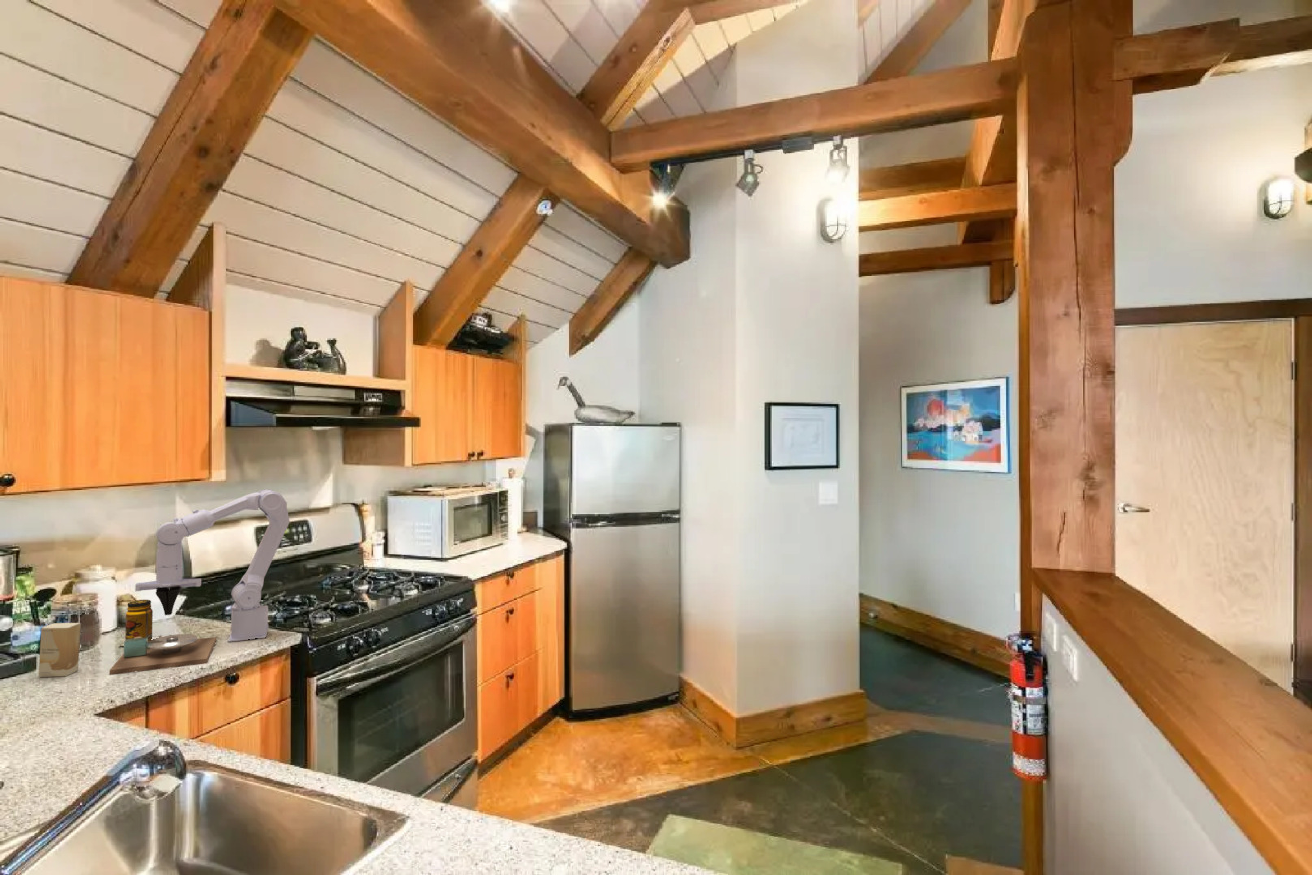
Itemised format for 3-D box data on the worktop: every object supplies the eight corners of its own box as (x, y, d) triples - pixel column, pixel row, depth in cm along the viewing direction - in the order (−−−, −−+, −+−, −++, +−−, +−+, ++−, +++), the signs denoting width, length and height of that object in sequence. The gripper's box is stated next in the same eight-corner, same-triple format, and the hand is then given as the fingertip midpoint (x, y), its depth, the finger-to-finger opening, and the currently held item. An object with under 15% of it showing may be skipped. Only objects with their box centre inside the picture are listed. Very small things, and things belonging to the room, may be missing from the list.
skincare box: (37, 677, 156) (38, 627, 156) (50, 671, 160) (51, 622, 160) (68, 676, 157) (69, 626, 157) (80, 670, 162) (81, 621, 162)
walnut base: (216, 640, 186) (217, 622, 186) (206, 662, 168) (207, 642, 168) (129, 650, 176) (129, 630, 176) (109, 674, 159) (109, 652, 159)
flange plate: (199, 641, 180) (200, 627, 180) (193, 653, 171) (193, 638, 171) (130, 649, 173) (130, 634, 173) (119, 662, 163) (119, 646, 163)
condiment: (118, 647, 179) (119, 605, 179) (132, 638, 187) (133, 597, 187) (149, 645, 181) (149, 603, 181) (162, 636, 189) (163, 596, 189)
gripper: (133, 570, 171) (132, 620, 171) (198, 566, 178) (197, 614, 178) (139, 565, 177) (138, 614, 177) (202, 561, 184) (201, 608, 184)
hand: (168, 614), depth 178 cm, fingers closed
